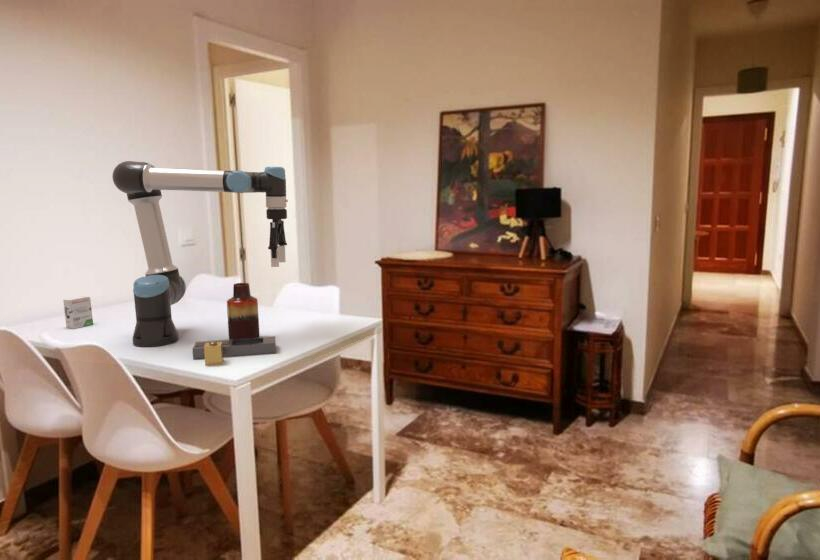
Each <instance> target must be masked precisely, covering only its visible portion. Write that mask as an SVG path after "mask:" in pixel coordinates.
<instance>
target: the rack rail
mask: <svg viewBox="0 0 820 560" xmlns="http://www.w3.org/2000/svg"><path fill="white" fill-rule="evenodd" d="M214 341H215V342H222V347H223V358H228V357H229V358H230V357H231V358H232V357H241V356H242V357H243V356H254V355H255V356H256V355H258V356H259V355H268V354H277V349H276V348H277V347H276V345H277V344H276V335H274V336H262V337H258V338H243V339H229V338H228V339H219V340H215V339H214V340H202V341H195V343H194V345H193V347H192V360H205V355H204V346H205V343H209V342H214Z"/></svg>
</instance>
